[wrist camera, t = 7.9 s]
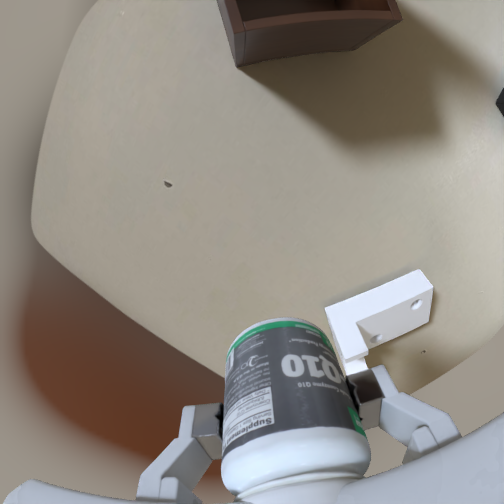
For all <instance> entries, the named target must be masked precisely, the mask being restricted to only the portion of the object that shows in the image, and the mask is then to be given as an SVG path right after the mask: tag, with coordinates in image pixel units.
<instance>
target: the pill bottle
mask: <svg viewBox="0 0 504 504" xmlns="http://www.w3.org/2000/svg"><path fill="white" fill-rule="evenodd" d="M370 461H371V451H370V447H369V443H368V440H367V437H366V434H365V432H364V429H363V426H362V424H361V421H360V418H359V416H358V412H357V410H356V407H355V405H354V402H353V399H352V397H351V395H350V392H349V389H348V386H347V384H346V381H345V378H344V376H343V373H342V371H341V368H340V366H339V363H338V360H337V357H336V355H335V352H334V350H333V347H332V345H331V343H330V341H329V339H328V338H327V336H326V335H325V333H324V332H323V331H322V330H321V329H320V328H318V327H317V326H316V325H314V324H312V323H310V322H308V321H306V320H303V319H299V318H292V317H282V318H274V319H269V320H265V321H262V322H259V323H257V324H254V325H252V326H250V327H249V328H247V329H246V330H244V331H243V332H242V333H241V334H239V335H238V336H237V338H236V339H235V340H234V342H233V343H232V345H231V346H230V349H229V351H228V354H227V359H226V375H225V397H224V420H223V444H222V466H221V473H222V480H223V483H224V485H225V486H226V488H227V489H228V490H229V491H230V492H231V493H232V494H233V495H235V496H236V498H235V500H234V502H233V503H235V502H251V503H254V504H336V502H337V499H338V495H339V492H340V490H341V488H342V487H343V486H344V485H346V484H348V483H350V482H354V481H357V480H360V479H364V478H365V477H364V476H363V475H364V474H365V472H366V471H367V469H368V467H369V464H370Z"/></svg>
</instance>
